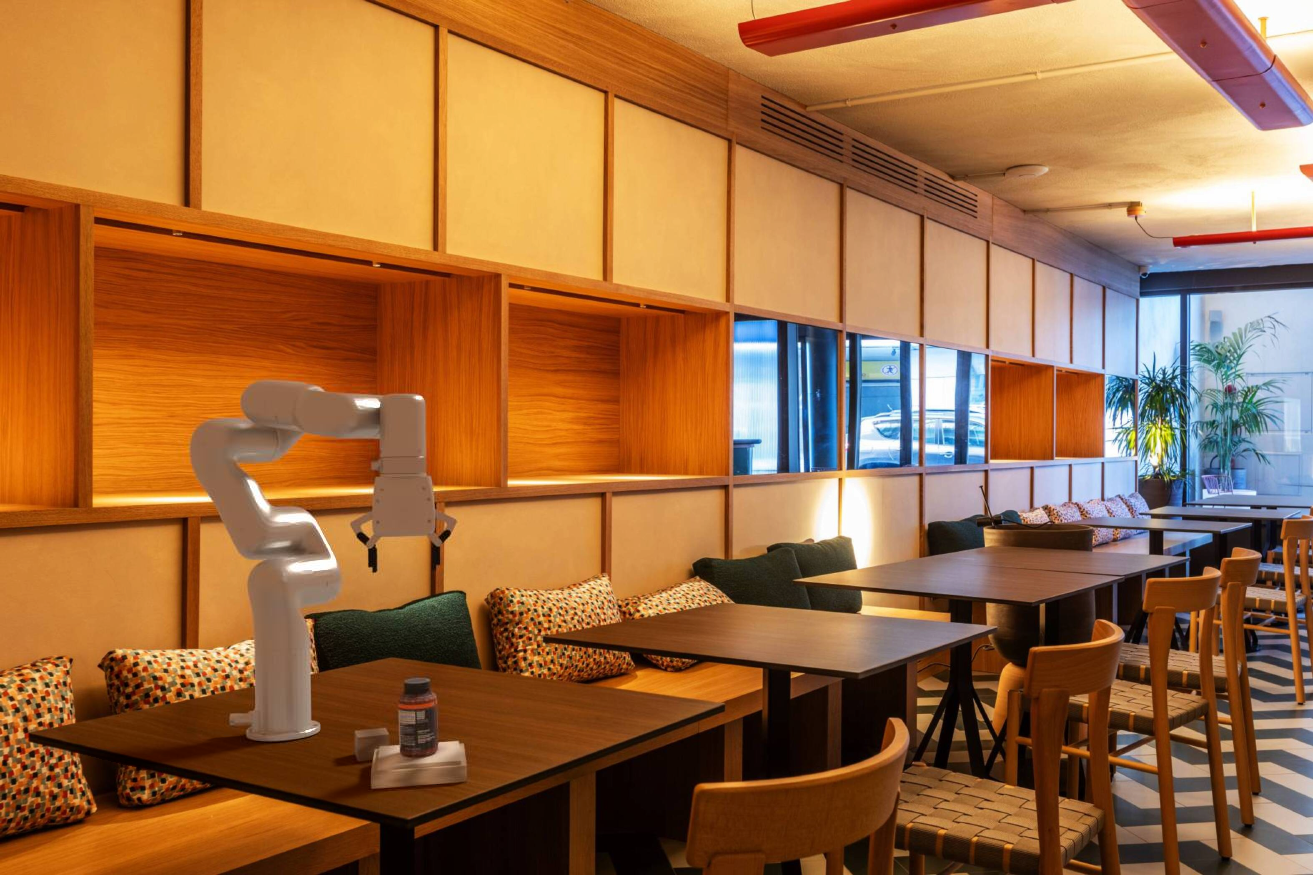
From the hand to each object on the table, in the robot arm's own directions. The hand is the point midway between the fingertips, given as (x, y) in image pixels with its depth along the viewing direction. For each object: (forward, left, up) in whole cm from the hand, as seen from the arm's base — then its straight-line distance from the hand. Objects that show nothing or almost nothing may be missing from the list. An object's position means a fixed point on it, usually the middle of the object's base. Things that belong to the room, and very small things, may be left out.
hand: (404, 570), depth 190 cm
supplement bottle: (+2, -13, -27) cm, 30 cm away
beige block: (-6, 0, -30) cm, 31 cm away
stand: (+2, -13, -30) cm, 33 cm away
